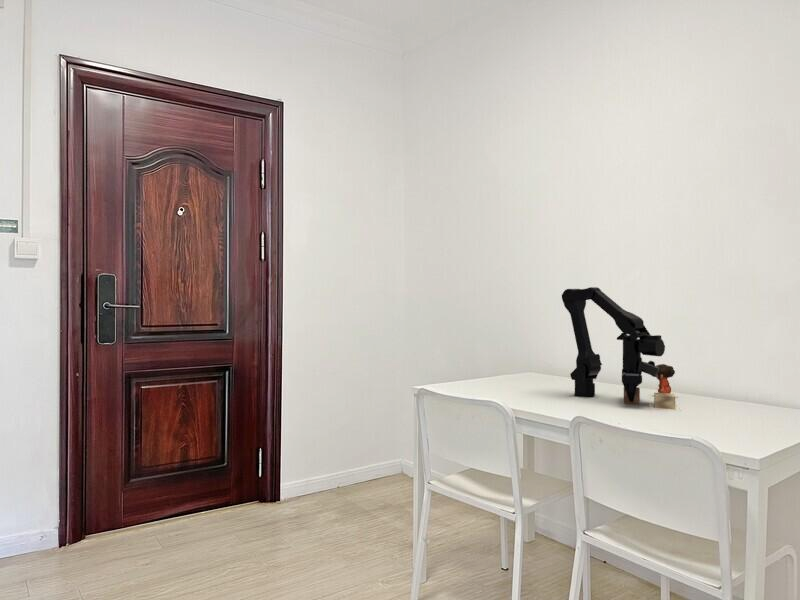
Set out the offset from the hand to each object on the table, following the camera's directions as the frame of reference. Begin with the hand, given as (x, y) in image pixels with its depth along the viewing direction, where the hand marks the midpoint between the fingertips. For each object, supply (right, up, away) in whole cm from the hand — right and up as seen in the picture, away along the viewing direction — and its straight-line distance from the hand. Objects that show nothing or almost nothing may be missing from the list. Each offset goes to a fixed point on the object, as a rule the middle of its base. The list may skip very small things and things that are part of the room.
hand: (631, 400), depth 205 cm
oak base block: (+8, -1, -7) cm, 11 cm away
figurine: (+16, -1, +12) cm, 20 cm away
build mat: (+4, -2, -5) cm, 6 cm away
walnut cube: (0, -1, 0) cm, 1 cm away
